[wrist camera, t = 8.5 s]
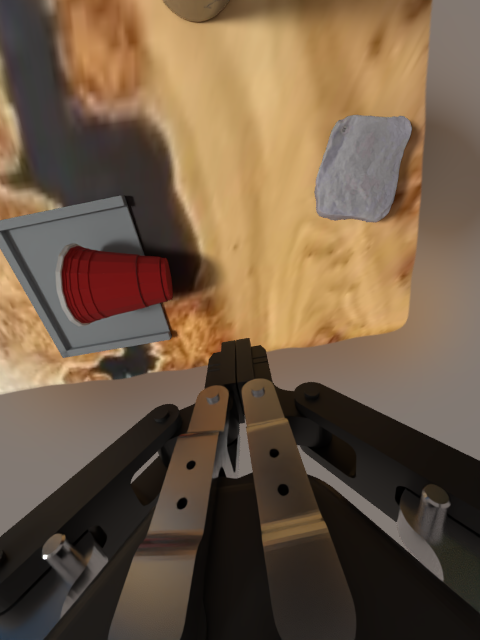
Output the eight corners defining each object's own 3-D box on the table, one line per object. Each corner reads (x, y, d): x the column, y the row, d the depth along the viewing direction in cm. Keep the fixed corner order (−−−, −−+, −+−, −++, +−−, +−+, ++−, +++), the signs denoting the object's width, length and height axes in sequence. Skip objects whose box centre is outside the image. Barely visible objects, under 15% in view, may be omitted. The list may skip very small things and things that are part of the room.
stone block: (308, 219, 38) (379, 222, 37) (311, 220, 34) (391, 223, 32) (321, 122, 33) (403, 121, 32) (326, 108, 29) (421, 107, 28)
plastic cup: (157, 219, 31) (49, 226, 29) (166, 307, 29) (52, 319, 28) (171, 256, 41) (93, 262, 40) (178, 321, 40) (96, 331, 38)
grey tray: (124, 195, 34) (120, 195, 33) (171, 335, 44) (170, 339, 43) (-7, 222, 35) (-15, 223, 34) (67, 354, 45) (62, 357, 44)
